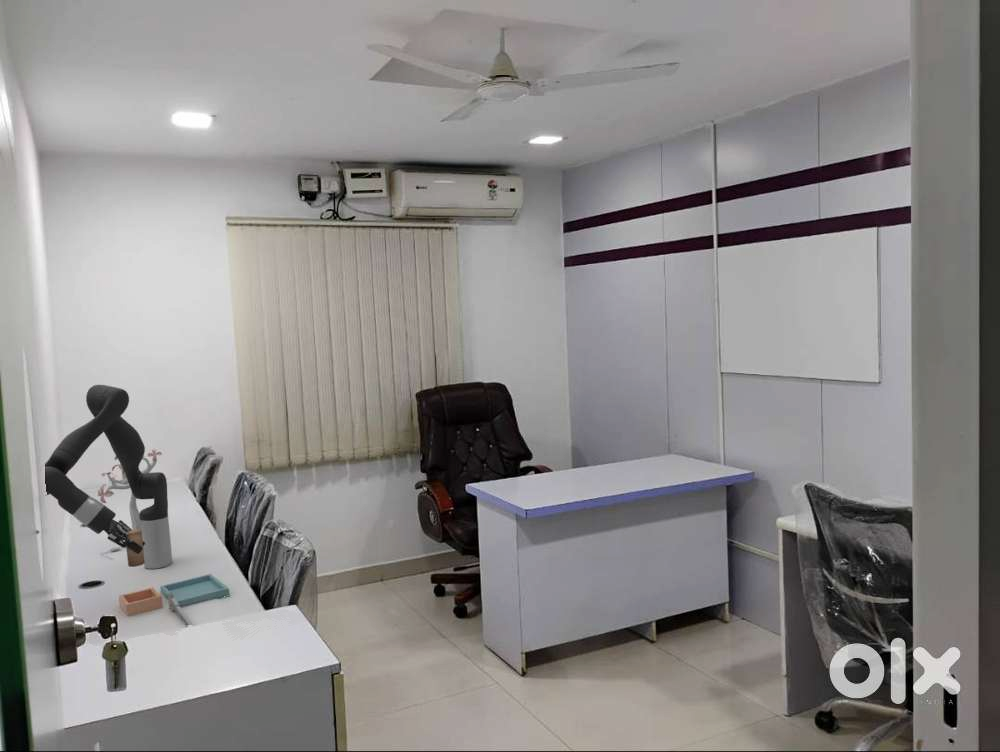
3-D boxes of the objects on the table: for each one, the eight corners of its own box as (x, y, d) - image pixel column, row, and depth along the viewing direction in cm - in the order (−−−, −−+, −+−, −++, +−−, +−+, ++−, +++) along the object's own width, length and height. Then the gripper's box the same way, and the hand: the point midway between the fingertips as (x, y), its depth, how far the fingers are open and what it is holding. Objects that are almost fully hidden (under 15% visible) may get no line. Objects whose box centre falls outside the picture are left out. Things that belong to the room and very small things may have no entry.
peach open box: (119, 608, 248) (118, 595, 248) (154, 599, 254) (153, 587, 254) (127, 618, 240) (126, 605, 240) (162, 608, 246) (161, 596, 246)
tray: (160, 593, 259) (160, 586, 259) (211, 581, 269) (210, 573, 268) (176, 609, 245) (175, 601, 245) (229, 595, 254) (228, 588, 254)
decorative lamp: (114, 560, 295) (103, 452, 291) (83, 550, 309) (72, 447, 305) (184, 539, 317) (174, 439, 313) (151, 531, 331) (142, 434, 327)
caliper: (169, 611, 245) (166, 591, 244) (172, 610, 245) (170, 590, 245) (191, 631, 229) (189, 610, 228) (195, 630, 229) (193, 609, 229)
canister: (126, 564, 246) (123, 532, 245) (142, 560, 249) (139, 528, 248) (130, 567, 243) (126, 535, 242) (146, 564, 245) (143, 532, 244)
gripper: (98, 511, 235) (147, 545, 240) (107, 499, 248) (153, 532, 253) (80, 531, 234) (129, 565, 239) (90, 518, 248) (136, 551, 252)
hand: (141, 548), depth 246 cm, fingers closed on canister, 4 cm apart
